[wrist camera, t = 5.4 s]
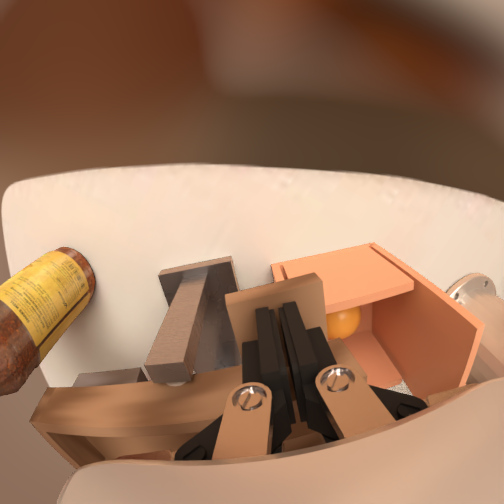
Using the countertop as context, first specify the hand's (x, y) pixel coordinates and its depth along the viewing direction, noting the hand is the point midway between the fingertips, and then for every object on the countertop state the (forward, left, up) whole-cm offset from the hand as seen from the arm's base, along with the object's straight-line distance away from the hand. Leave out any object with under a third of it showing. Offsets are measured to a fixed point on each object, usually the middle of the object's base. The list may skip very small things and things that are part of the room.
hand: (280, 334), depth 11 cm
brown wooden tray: (+6, +4, -3) cm, 8 cm away
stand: (+6, +6, -12) cm, 14 cm away
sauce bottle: (+18, -1, -12) cm, 22 cm away
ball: (-5, +6, -9) cm, 12 cm away
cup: (-5, +6, -12) cm, 14 cm away
